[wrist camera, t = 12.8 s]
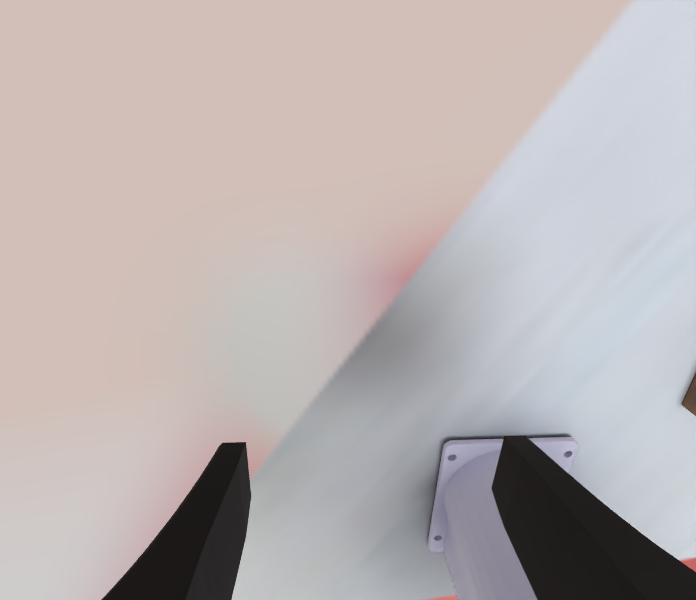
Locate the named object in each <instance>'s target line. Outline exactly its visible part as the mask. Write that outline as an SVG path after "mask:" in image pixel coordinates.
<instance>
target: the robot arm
mask: <svg viewBox="0 0 696 600" xmlns="http://www.w3.org/2000/svg"><path fill="white" fill-rule="evenodd" d="M577 448H578V443H577V442H576V441H575V439H574V438H572V437H553V438H527V437H526V436H504V439H479V440H451V441H448V442H446V443H445V444H444V446H443V451H442V457H441V463H440V470H439V476H438V482H437V488H436V494H435V501H434V507H433V513H432V519H431V525H430V532H429V538H428V548H429V550H430V551H431V552H435V553H437V552H444V554H445V557H446V561H447V564H448V568H449V571H450V575H451V578H452V582H453V586H454V589H455V593H456V596H457V600H696V572H695V571H693V570H692V569H690V568H689V567H687V566H686V565H684V564H683V563H682V562H680V561H679V560H677V559H676V558H675V557H673V556H672V555H670V554H669V553H667V552H666V551H665V550H663V549H662V548H660V547H659V546H658V545H656V544H655V543H653V542H652V541H651V540H649V539H648V538H647V537H645V536H644V535H643V534H641V533H640V532H639V531H638V530H636V529H635V528H634V527H632V526H631V525H630V524H629V523H627V522H626V521H625V520H623V519H622V518H621V517H620V516H618V515H617V514H616V513H615V512H613V511H612V510H611V509H610V508H608V507H607V506H606V505H605V504H604V503H602V502H601V501H600V500H599V499H597V498H596V497H595V496H594V495H593V494H592V493H590V492H589V491H588V490H587V489H586V488H584V487H583V486H582V485H581V484H580V483H579V482H577V481H576V480H575V479H574V478H573V477H572V476H571V475H569V472H570V469H571V466H572V463H573V460H574V457H575V454H576V451H577ZM452 454H453V455H452ZM450 455H452V456H450ZM250 501H251V491H250V480H249V470H248V460H247V450H246V443H245V442H240V443H239V442H237V443H222V444H221V445H220V446H219V447H218V449H217V451H216V452H215V454H214V456H213V457H212V459H211V461H210V462H209V464H208V465H207V467H206V468H205V470H204V471H203V473H202V475H201V476H200V478H199V479H198V481H197V482H196V483H195V485H194V487H193V488H192V490H191V491H190V492H189V494H188V495H187V496H186V498H185V499H184V501H183V502H182V503H181V505H180V506H179V508H178V509H177V511H176V512H175V513H174V514H173V516H172V517H171V518H170V520H169V521H168V522H167V524H166V525H165V526H164V527H163V529H162V530H161V531H160V532H159V534H158V535H157V536H156V538H155V539H154V540H153V541H152V543H151V544H150V545H149V547H148V548H147V549H146V550H145V551H144V553H143V554H142V555H141V556H140V557H139V558H138V560H137V561H136V562H135V563H134V564H133V566H132V567H131V568H130V569H129V570H128V571H127V572H126V574H125V575H124V576H123V577H122V578H121V579H120V580H119V581H118V582H117V584H116V585H115V586H114V587H113V588H112V589H111V590H110V591H109V592H108V593H107V595H106V596H105V597H104V598H103V599H102V600H231V599H232V594H233V590H234V586H235V581H236V577H237V573H238V569H239V564H240V560H241V556H242V551H243V547H244V542H245V538H246V532H247V524H248V517H249V509H250Z"/></svg>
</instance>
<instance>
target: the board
mask: <svg viewBox="0 0 696 600" xmlns="http://www.w3.org/2000/svg"><path fill="white" fill-rule="evenodd" d="M682 405H683V406H684V407H685V408H686V409H688V410H689V411H690V412H691V413H693V414H694V415H695V416H696V375H695V377H694V379H693V382H692V384H691V386H690V388H689V390H688V393H687V395H686V397H685V399H684V401H683V403H682Z"/></svg>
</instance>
